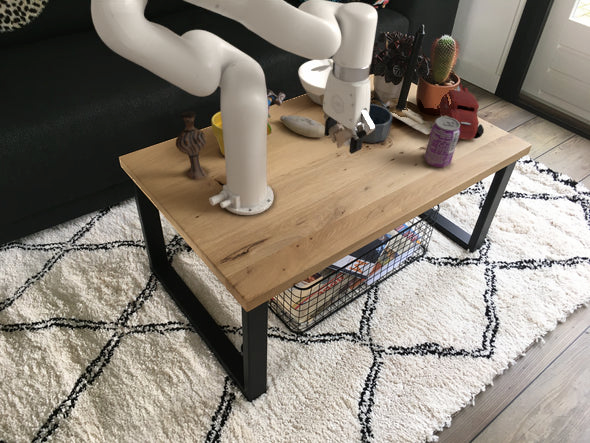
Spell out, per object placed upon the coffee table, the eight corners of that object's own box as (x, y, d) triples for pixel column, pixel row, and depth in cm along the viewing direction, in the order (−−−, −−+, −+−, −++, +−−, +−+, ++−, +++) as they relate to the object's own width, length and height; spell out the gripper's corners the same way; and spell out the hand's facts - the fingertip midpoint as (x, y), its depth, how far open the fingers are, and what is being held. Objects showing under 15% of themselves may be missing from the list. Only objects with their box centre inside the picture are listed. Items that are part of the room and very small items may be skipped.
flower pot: (240, 135, 141) (239, 104, 134) (259, 154, 135) (259, 122, 128) (207, 146, 136) (204, 115, 130) (225, 166, 130) (223, 134, 124)
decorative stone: (285, 117, 149) (285, 107, 147) (331, 133, 144) (332, 123, 142) (274, 127, 145) (274, 117, 143) (321, 143, 140) (322, 133, 138)
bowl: (313, 76, 168) (315, 53, 163) (367, 92, 162) (371, 68, 157) (286, 102, 156) (287, 77, 150) (343, 120, 150) (346, 95, 144)
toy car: (463, 101, 162) (476, 72, 155) (483, 150, 141) (499, 119, 135) (420, 93, 161) (430, 64, 154) (434, 142, 140) (447, 110, 134)
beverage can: (448, 154, 138) (459, 116, 130) (451, 170, 133) (464, 131, 125) (422, 152, 139) (432, 114, 131) (425, 167, 134) (435, 129, 125)
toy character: (349, 150, 116) (336, 128, 117) (361, 137, 108) (347, 113, 109) (335, 157, 115) (322, 135, 115) (346, 145, 107) (332, 121, 108)
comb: (425, 139, 142) (444, 133, 148) (428, 131, 141) (447, 126, 147) (386, 116, 150) (405, 111, 156) (388, 108, 148) (408, 104, 155)
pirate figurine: (220, 99, 132) (255, 63, 137) (227, 128, 143) (260, 93, 148) (262, 124, 128) (296, 86, 133) (266, 151, 140) (297, 115, 145)
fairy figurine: (344, 68, 148) (335, 51, 151) (323, 70, 146) (314, 53, 149) (338, 83, 153) (330, 66, 156) (318, 85, 151) (309, 69, 154)
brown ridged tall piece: (182, 182, 125) (173, 119, 113) (178, 170, 129) (168, 108, 116) (211, 176, 127) (205, 114, 115) (206, 165, 131) (200, 103, 118)
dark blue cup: (368, 148, 139) (372, 130, 135) (340, 130, 145) (342, 112, 141) (397, 135, 145) (400, 116, 141) (368, 117, 151) (371, 99, 147)
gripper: (309, 57, 104) (305, 130, 116) (368, 92, 94) (356, 167, 106) (336, 49, 108) (329, 120, 120) (395, 81, 98) (381, 155, 110)
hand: (342, 142), depth 113 cm, fingers closed on toy character, 7 cm apart
